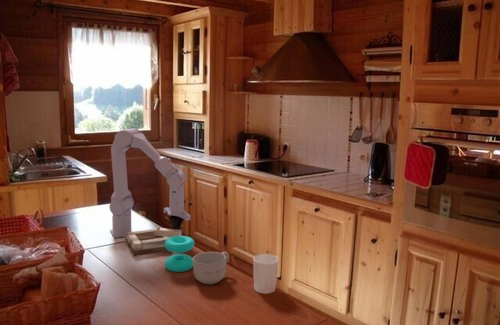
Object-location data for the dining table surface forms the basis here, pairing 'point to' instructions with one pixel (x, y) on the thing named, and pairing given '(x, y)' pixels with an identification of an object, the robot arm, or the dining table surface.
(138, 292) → the dining table surface
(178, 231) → the hinged leg
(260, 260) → the white cup
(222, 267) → the teacup
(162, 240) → the stool seat
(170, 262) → the donuts
